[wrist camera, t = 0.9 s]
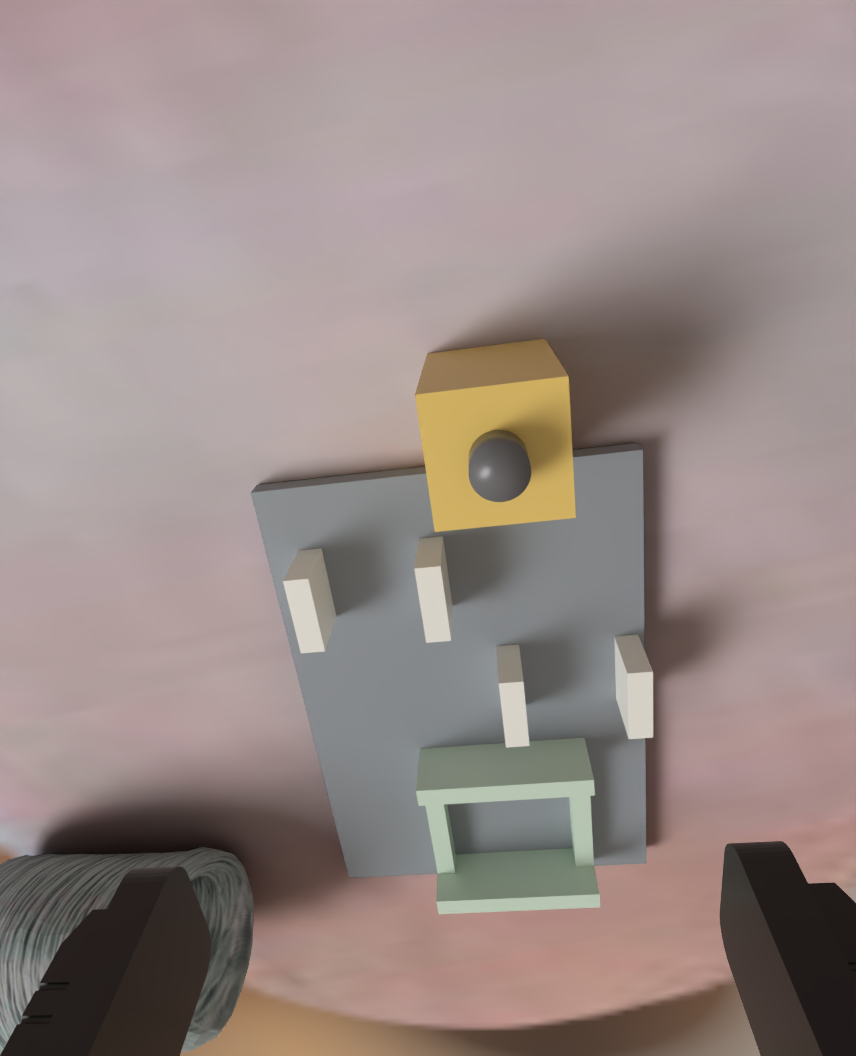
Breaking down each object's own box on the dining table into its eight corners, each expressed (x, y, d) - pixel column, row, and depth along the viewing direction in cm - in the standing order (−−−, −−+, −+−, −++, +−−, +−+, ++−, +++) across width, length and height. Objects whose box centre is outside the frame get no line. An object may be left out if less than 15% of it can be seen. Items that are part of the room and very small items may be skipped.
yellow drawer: (427, 353, 24) (411, 405, 17) (545, 338, 23) (575, 386, 17) (441, 463, 25) (432, 550, 19) (552, 451, 25) (582, 535, 18)
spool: (250, 841, 29) (125, 1147, 23) (306, 890, 36) (222, 1132, 31) (-8, 766, 33) (-172, 1015, 27) (91, 824, 40) (-21, 1030, 34)
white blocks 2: (496, 646, 27) (498, 683, 25) (638, 634, 27) (653, 671, 25) (502, 706, 29) (505, 747, 26) (638, 696, 28) (653, 737, 26)
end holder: (419, 749, 30) (415, 791, 27) (584, 737, 29) (593, 779, 27) (440, 867, 33) (438, 914, 30) (591, 859, 32) (600, 907, 30)
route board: (257, 484, 26) (250, 492, 25) (637, 443, 24) (642, 449, 24) (351, 863, 34) (349, 877, 33) (642, 848, 32) (646, 863, 32)
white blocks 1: (298, 550, 26) (282, 581, 24) (442, 536, 25) (440, 566, 23) (314, 618, 27) (300, 653, 25) (452, 606, 27) (451, 640, 24)
